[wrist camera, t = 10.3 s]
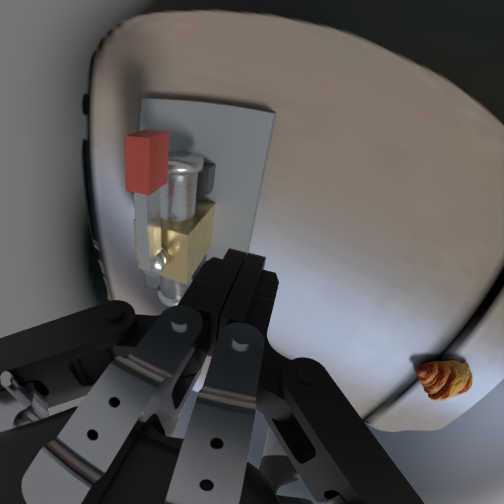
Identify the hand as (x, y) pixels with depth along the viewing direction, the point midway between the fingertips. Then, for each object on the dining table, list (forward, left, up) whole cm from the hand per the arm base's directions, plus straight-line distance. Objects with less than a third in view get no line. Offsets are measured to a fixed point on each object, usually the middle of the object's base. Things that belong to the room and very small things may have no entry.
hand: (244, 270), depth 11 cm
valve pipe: (-9, +10, -18) cm, 23 cm away
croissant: (-29, -41, -20) cm, 54 cm away
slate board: (-9, +10, -20) cm, 24 cm away
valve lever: (-4, +10, -10) cm, 15 cm away
